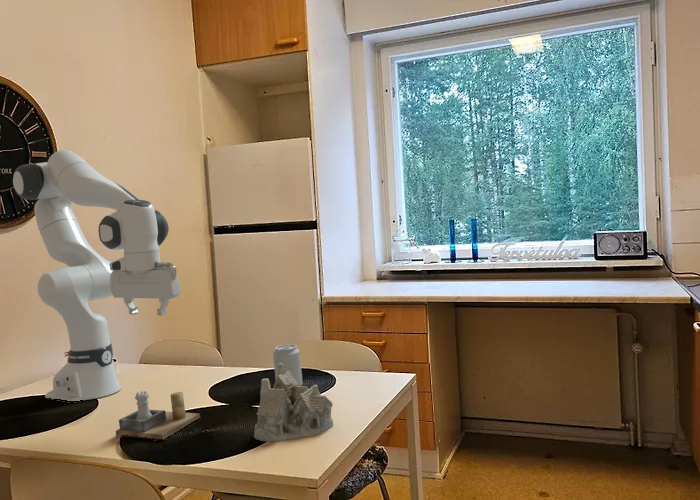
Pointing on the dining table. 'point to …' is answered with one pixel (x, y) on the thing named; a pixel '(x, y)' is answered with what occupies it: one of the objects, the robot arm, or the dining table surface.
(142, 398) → the rook chess piece
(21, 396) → the dining table surface
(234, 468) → the dining table surface
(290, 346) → the can
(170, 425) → the carrier plate
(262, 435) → the ceramic cottage
